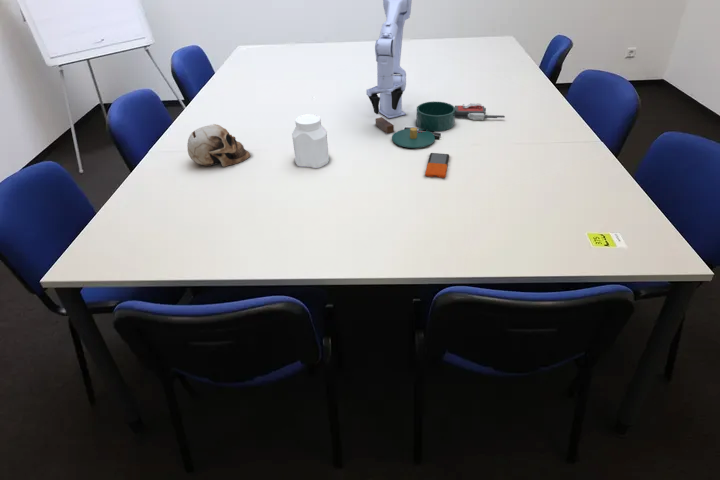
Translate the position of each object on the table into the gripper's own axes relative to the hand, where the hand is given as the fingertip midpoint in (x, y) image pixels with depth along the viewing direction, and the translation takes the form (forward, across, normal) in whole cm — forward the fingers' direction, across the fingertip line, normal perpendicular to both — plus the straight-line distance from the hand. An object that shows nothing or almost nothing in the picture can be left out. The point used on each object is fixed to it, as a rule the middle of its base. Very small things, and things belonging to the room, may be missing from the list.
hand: (385, 111), depth 175 cm
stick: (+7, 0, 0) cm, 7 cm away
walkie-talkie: (+7, +37, -9) cm, 39 cm away
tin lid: (+6, +4, -14) cm, 16 cm away
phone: (+7, 0, -35) cm, 35 cm away
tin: (+7, +19, -6) cm, 21 cm away
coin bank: (+7, -61, +8) cm, 62 cm away
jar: (+7, -34, -9) cm, 36 cm away
